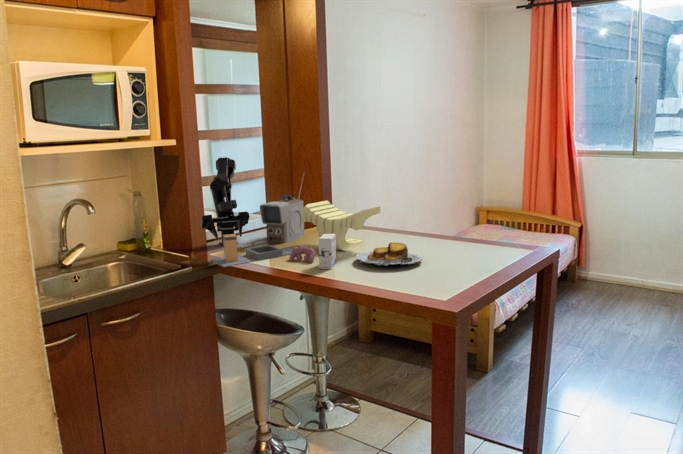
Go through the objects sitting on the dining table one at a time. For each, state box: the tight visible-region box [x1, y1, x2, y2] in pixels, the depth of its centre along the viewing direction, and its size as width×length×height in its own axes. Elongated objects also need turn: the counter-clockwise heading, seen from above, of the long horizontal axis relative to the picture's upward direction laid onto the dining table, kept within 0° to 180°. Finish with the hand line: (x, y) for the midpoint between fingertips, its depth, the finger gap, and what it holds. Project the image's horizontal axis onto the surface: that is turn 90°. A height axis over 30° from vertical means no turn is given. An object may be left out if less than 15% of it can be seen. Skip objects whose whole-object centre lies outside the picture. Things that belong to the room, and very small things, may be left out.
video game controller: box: [288, 245, 316, 264], centre depth 224 cm, size 10×5×7 cm, turn 72°
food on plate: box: [355, 242, 423, 267], centre depth 220 cm, size 25×25×7 cm
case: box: [245, 244, 296, 261], centre depth 236 cm, size 11×22×3 cm, turn 125°
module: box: [222, 233, 239, 262], centre depth 225 cm, size 5×5×10 cm
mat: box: [209, 253, 254, 269], centre depth 226 cm, size 14×12×1 cm
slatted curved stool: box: [303, 200, 381, 252], centre depth 245 cm, size 30×16×18 cm, turn 49°
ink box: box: [318, 234, 337, 270], centre depth 215 cm, size 9×5×12 cm, turn 168°
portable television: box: [259, 173, 305, 244], centre depth 260 cm, size 12×24×30 cm, turn 157°
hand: (229, 237), depth 225 cm, fingers open, 9 cm apart
